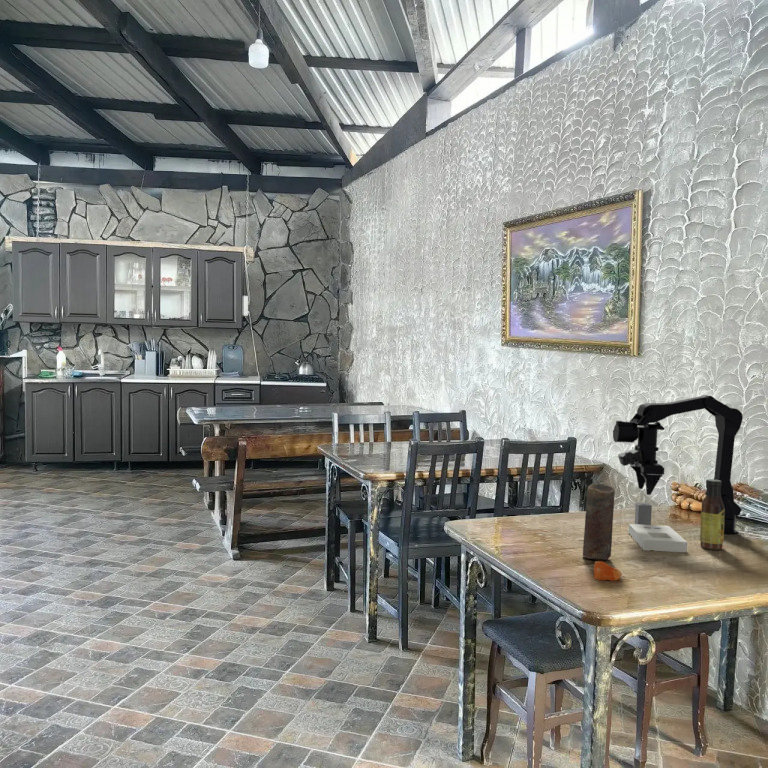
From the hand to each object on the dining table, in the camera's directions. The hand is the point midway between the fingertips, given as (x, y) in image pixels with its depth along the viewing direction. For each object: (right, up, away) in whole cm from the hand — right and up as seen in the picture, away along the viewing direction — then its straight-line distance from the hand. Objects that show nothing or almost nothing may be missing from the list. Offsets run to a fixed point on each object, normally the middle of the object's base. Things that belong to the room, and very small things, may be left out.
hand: (644, 491), depth 224 cm
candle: (-25, -14, -32) cm, 43 cm away
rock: (-28, -15, -48) cm, 57 cm away
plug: (0, -12, +1) cm, 12 cm away
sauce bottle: (+13, -14, -19) cm, 26 cm away
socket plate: (-2, -13, -15) cm, 20 cm away
